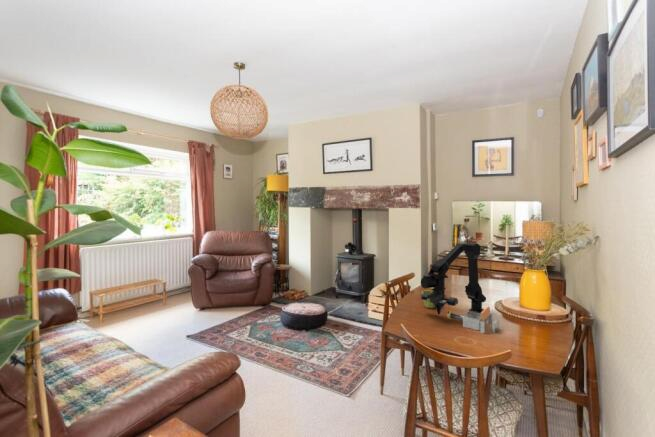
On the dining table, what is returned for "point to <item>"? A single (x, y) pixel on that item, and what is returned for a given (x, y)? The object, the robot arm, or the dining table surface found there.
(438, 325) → the dining table surface
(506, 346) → the dining table surface
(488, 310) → the panel
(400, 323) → the dining table surface
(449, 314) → the lynch pin
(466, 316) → the block
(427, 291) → the plant pot
